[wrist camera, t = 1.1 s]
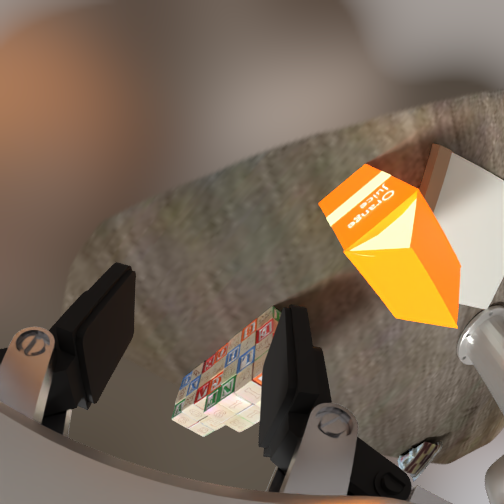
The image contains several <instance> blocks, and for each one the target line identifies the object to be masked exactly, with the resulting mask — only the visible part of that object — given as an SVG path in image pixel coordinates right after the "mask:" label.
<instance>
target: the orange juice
mask: <svg viewBox="0 0 504 504" xmlns="http://www.w3.org/2000/svg"><path fill="white" fill-rule="evenodd" d="M318 204H319V206H320V207H321V209H322V211H323V213H324V214H325V216H326V219H327V220H328V222H329V224H330V226H331V227H332V228H333V230H334V232H335V234H336V236H337V237H338V239H339V241H340V243H341V245H342V247H343V248H344V250H345V251H343V252H344V253H345V254H346V256H347V257H348V258H349V259H350V260H351V262H352V263H353V264H354V265H355V267H356V268H357V269H358V270H359V272H360V273H361V274H362V275H363V277H364V278H365V279H366V280H367V282H368V283H369V284H370V285H371V287H372V288H373V289H374V290H375V292H376V293H377V294H378V296H379V297H380V298H381V299H382V301H383V302H384V303H385V305H386V306H387V307H388V309H389V310H390V311H391V313H392V314H393V315H394V317H395V318H398V319H404V320H409V321H415V322H421V323H427V324H434V325H440V326H446V327H453V328H458V327H457V317H458V305H459V290H460V268H461V265H460V262H459V260H458V258H457V256H456V254H455V252H454V250H453V249H452V247H451V245H450V243H449V241H448V239H447V237H446V235H445V233H444V232H443V230H442V228H441V226H440V224H439V223H438V221H437V219H436V217H435V216H434V214H433V212H432V211H431V209H430V207H429V205H428V204H427V202H426V201H425V199H424V197H423V196H422V194H421V192H420V191H419V189H417V188H415V187H413V186H411V185H409V184H407V183H405V182H403V181H401V180H399V179H397V178H395V177H393V176H391V175H390V174H388V173H386V172H383V171H380V170H378V169H376V168H374V167H371V166H369V165H367V164H365V165H363V166H362V167H361V168H360V169H359V170H357V171H356V172H355V173H354V174H353V175H351V176H350V177H349V178H348V179H347V180H345V181H344V182H343V183H342V184H341V185H339V186H338V187H337V188H336V189H335V190H334V191H332V192H331V193H330V194H329V195H328V196H326V197H325V198H324V199H323V200H322V201H320V202H319V203H318Z"/></svg>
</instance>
